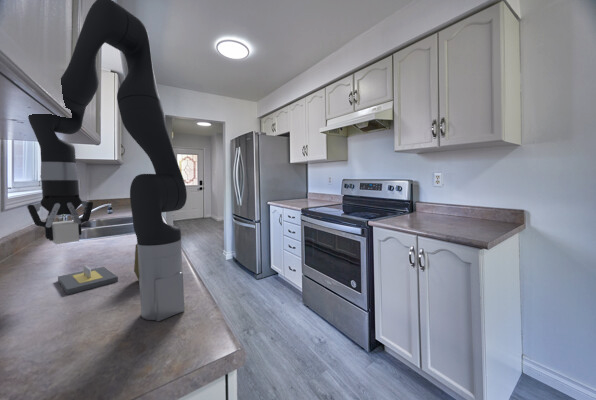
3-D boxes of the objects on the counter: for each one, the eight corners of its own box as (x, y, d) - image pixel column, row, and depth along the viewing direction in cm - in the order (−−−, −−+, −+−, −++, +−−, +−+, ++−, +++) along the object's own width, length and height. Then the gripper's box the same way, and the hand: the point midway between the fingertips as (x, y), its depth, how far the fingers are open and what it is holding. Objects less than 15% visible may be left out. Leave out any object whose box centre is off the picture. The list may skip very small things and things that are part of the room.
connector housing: (79, 240, 71) (78, 223, 70) (55, 244, 67) (54, 225, 66) (71, 236, 76) (70, 220, 76) (49, 239, 72) (48, 222, 72)
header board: (118, 281, 80) (117, 267, 79) (67, 294, 70) (66, 279, 70) (103, 270, 90) (103, 258, 89) (58, 281, 80) (56, 267, 80)
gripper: (24, 178, 62) (29, 245, 63) (96, 179, 74) (99, 236, 75) (20, 178, 67) (26, 241, 68) (88, 179, 78) (92, 232, 79)
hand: (64, 238), depth 71 cm, fingers closed on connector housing, 4 cm apart
